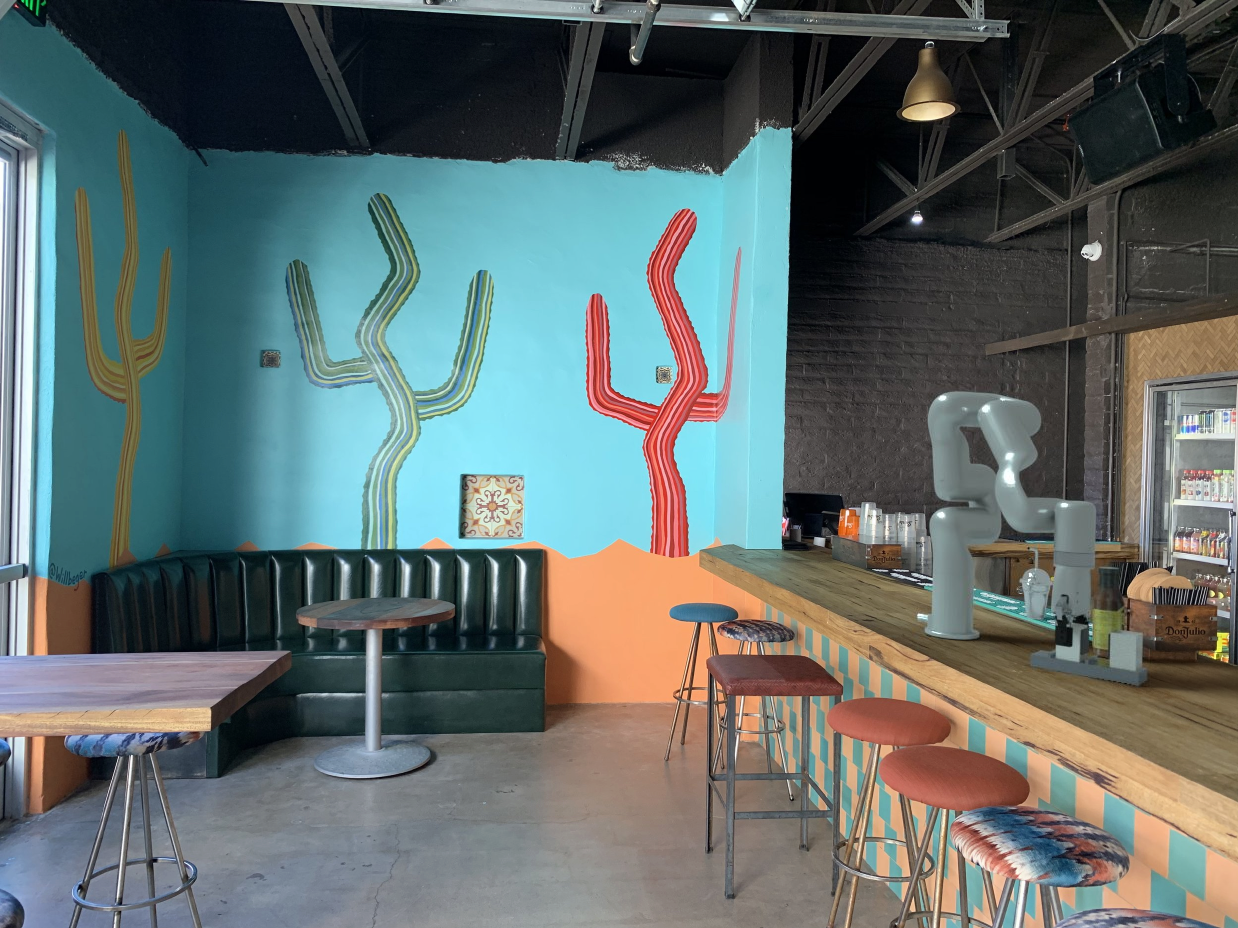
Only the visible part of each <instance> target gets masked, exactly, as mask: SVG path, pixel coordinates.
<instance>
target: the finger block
mask: <svg viewBox="0 0 1238 928" xmlns="http://www.w3.org/2000/svg"><path fill="white" fill-rule="evenodd" d="M1071 627H1073V646H1072V647H1065V646H1059V645H1056V644H1055V649H1056V658H1059V659H1065V660H1070V661H1076V662H1080V661H1083V660H1085V659H1086V658H1088V656H1087V654H1088V653H1089V652H1090V650H1089V649H1090V628H1087V625H1083V624H1077V623H1072V625H1071Z"/></svg>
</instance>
